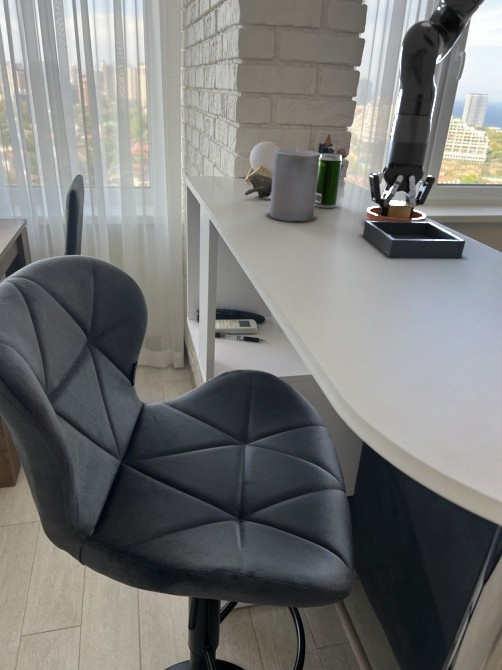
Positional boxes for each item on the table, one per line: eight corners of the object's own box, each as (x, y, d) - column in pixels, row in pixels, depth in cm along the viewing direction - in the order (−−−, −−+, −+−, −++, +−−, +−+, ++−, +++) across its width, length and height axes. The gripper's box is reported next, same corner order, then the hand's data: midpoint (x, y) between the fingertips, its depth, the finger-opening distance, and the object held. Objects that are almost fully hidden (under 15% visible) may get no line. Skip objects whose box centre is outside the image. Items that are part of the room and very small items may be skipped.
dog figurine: (290, 197, 131) (292, 168, 128) (292, 202, 126) (295, 171, 123) (244, 195, 131) (245, 165, 127) (244, 200, 125) (245, 169, 122)
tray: (427, 237, 102) (430, 221, 101) (461, 258, 90) (465, 240, 88) (362, 236, 100) (365, 220, 98) (389, 257, 88) (392, 240, 86)
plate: (408, 220, 115) (410, 206, 114) (433, 234, 104) (436, 219, 103) (357, 219, 113) (359, 205, 112) (376, 233, 102) (379, 218, 101)
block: (399, 221, 111) (403, 201, 109) (407, 227, 107) (411, 205, 105) (379, 221, 110) (383, 200, 108) (387, 226, 106) (391, 205, 104)
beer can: (326, 209, 120) (332, 156, 115) (309, 205, 124) (314, 153, 119) (340, 207, 124) (346, 155, 119) (323, 202, 127) (328, 152, 122)
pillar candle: (283, 209, 118) (289, 141, 111) (321, 217, 113) (329, 146, 106) (261, 216, 110) (265, 143, 104) (299, 224, 106) (307, 149, 99)
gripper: (381, 139, 96) (368, 228, 104) (451, 142, 98) (432, 229, 106) (368, 135, 103) (356, 219, 111) (433, 138, 105) (417, 220, 113)
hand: (393, 223), depth 108 cm, fingers closed on block, 4 cm apart
